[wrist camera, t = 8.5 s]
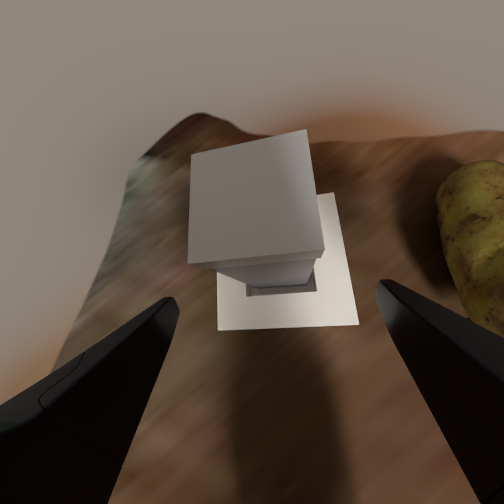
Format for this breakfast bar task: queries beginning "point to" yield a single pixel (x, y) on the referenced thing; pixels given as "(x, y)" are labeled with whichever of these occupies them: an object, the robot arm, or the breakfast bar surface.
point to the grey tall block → (256, 212)
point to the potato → (475, 239)
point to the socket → (296, 290)
